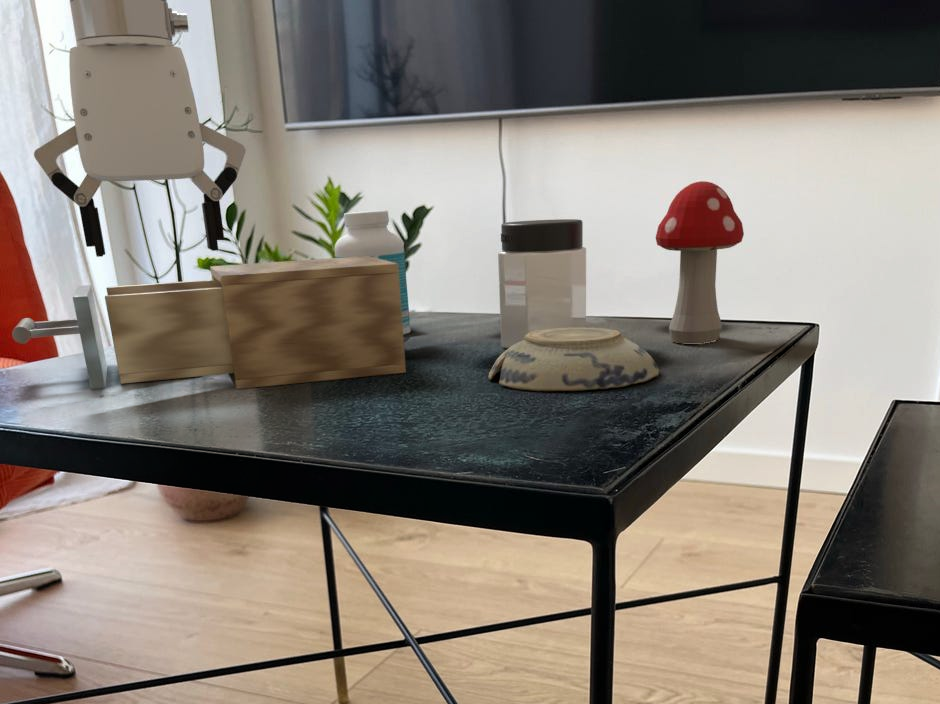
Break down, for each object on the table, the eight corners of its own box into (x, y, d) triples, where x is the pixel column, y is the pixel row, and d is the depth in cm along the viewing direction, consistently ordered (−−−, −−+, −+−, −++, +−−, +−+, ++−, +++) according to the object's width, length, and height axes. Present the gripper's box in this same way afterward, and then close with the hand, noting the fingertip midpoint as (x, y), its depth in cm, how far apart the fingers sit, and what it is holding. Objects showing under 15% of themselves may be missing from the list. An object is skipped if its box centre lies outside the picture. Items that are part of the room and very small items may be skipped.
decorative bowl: (695, 374, 88) (581, 354, 99) (697, 330, 86) (581, 315, 98) (562, 403, 80) (455, 377, 91) (562, 355, 79) (453, 335, 90)
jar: (523, 338, 111) (520, 220, 106) (594, 340, 108) (594, 218, 103) (490, 351, 104) (485, 225, 99) (565, 353, 100) (564, 223, 96)
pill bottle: (401, 336, 117) (392, 209, 111) (418, 344, 110) (409, 209, 105) (337, 342, 115) (325, 212, 109) (351, 351, 108) (338, 213, 102)
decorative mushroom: (661, 333, 110) (665, 182, 104) (742, 333, 108) (751, 178, 102) (644, 347, 102) (648, 184, 96) (732, 348, 99) (742, 180, 93)
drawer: (23, 398, 86) (1, 302, 83) (33, 376, 96) (14, 290, 93) (260, 375, 91) (248, 284, 88) (247, 357, 101) (236, 275, 98)
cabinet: (236, 389, 91) (220, 275, 87) (224, 368, 101) (210, 266, 98) (406, 372, 95) (398, 263, 91) (376, 353, 106) (368, 255, 102)
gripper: (226, 36, 89) (251, 245, 96) (14, 35, 84) (57, 256, 91) (235, 23, 82) (261, 249, 89) (5, 22, 77) (51, 260, 84)
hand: (157, 252), depth 90 cm, fingers open, 9 cm apart
